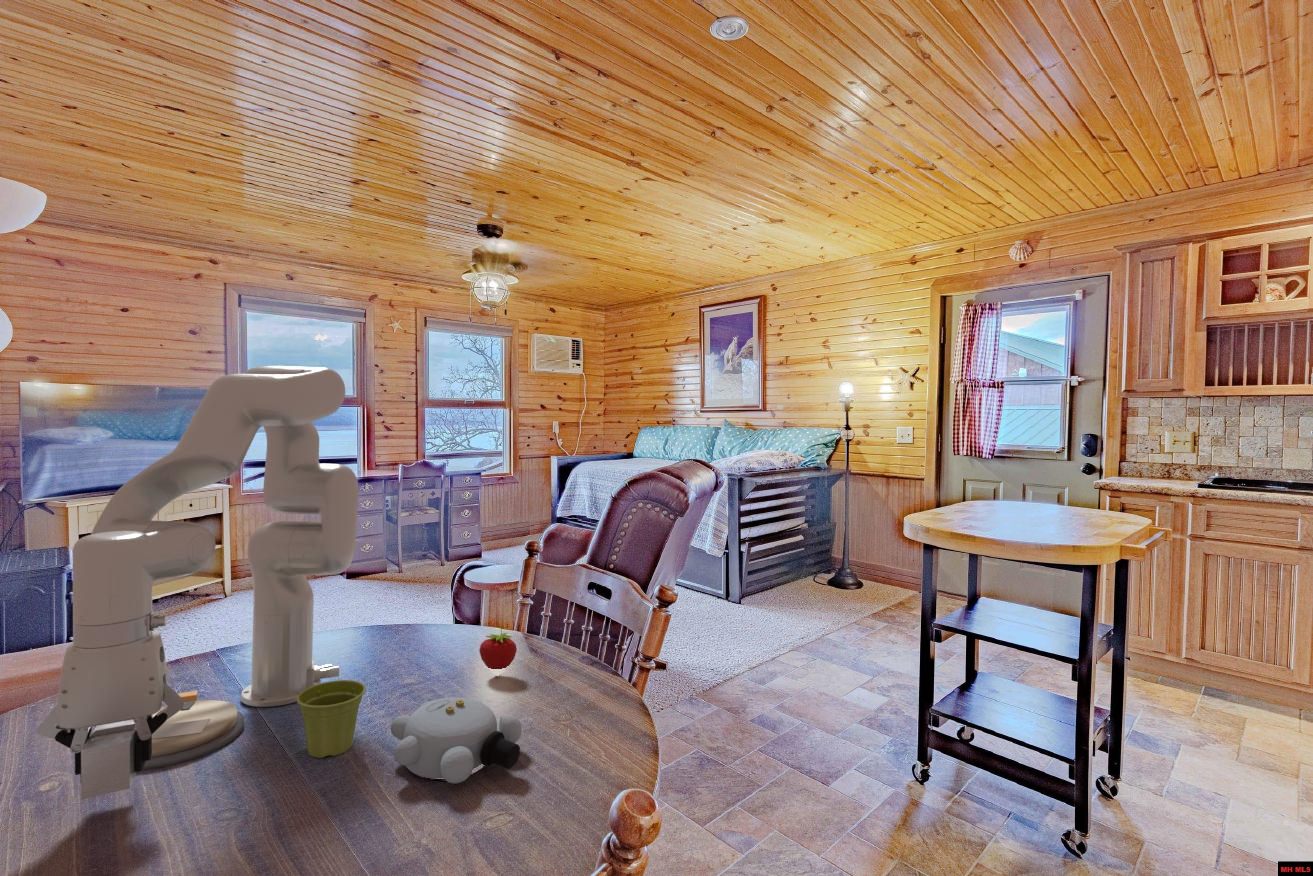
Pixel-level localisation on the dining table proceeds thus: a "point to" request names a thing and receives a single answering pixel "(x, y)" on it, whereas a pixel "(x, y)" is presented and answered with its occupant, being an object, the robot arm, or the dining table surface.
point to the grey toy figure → (455, 739)
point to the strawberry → (498, 651)
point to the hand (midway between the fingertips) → (114, 770)
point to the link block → (108, 759)
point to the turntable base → (199, 750)
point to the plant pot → (330, 716)
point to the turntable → (193, 726)
